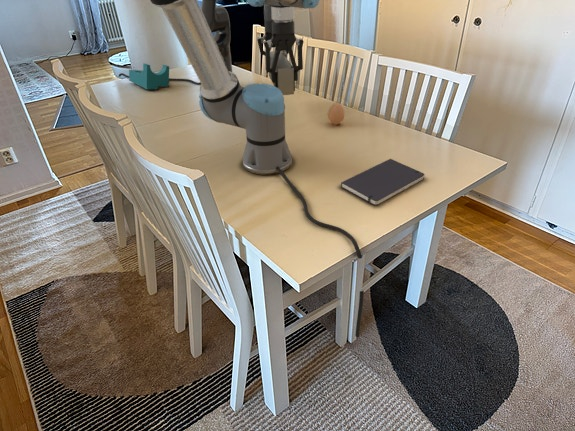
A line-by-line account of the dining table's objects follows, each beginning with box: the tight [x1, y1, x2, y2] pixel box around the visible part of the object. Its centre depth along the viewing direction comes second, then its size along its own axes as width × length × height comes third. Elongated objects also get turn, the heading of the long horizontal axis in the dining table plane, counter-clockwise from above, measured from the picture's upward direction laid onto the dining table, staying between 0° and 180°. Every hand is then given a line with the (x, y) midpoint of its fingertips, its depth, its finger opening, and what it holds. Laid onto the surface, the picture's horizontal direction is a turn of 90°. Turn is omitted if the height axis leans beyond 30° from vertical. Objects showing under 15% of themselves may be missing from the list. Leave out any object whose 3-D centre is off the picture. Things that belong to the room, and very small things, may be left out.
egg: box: [327, 102, 345, 125], centre depth 147 cm, size 6×6×8 cm
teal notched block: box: [128, 63, 170, 90], centre depth 189 cm, size 18×11×10 cm, turn 43°
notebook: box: [340, 158, 425, 206], centre depth 114 cm, size 13×2×21 cm
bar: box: [268, 50, 295, 96], centre depth 151 cm, size 25×6×9 cm, turn 10°
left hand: (276, 64), depth 158 cm, fingers closed on bar, 5 cm apart
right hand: (284, 90), depth 146 cm, fingers closed on bar, 5 cm apart
